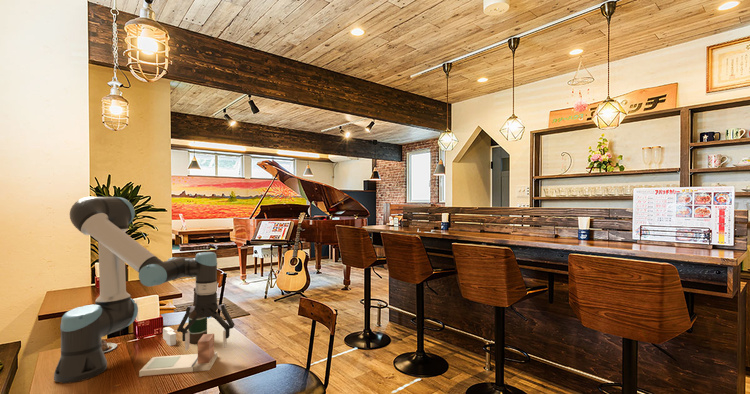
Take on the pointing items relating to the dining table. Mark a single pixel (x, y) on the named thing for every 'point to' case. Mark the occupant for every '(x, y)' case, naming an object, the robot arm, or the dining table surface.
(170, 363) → the white flat block
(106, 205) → the robot arm
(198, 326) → the beer bottle
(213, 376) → the dining table surface
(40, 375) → the dining table surface
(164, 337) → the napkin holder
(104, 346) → the pastry
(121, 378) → the dining table surface
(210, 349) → the stub
